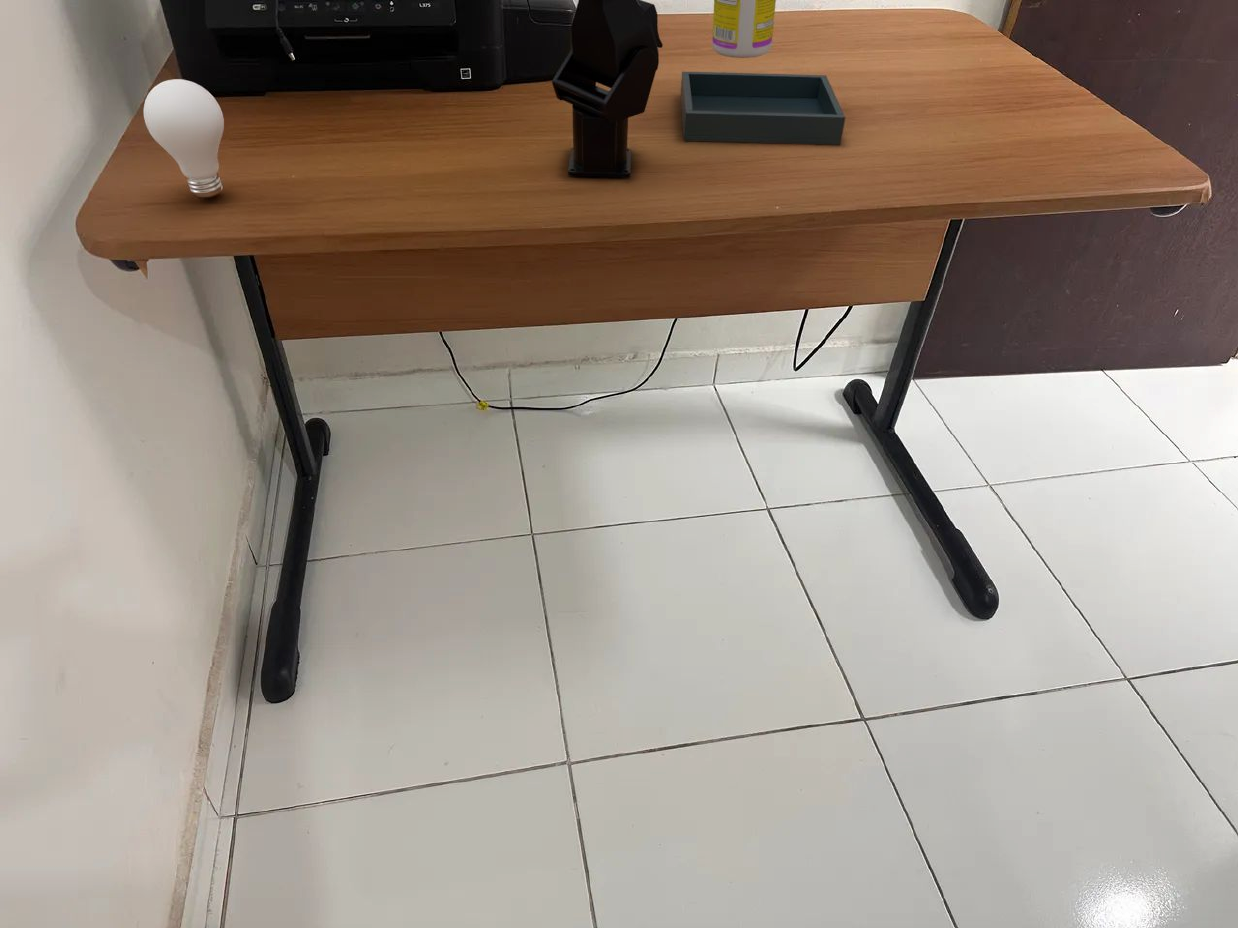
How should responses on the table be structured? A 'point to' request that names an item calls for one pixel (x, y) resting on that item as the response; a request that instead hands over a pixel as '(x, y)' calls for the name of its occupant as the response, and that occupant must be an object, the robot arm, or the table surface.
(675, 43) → the table surface
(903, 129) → the table surface
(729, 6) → the supplement bottle
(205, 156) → the light bulb
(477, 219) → the table surface
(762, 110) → the tray
